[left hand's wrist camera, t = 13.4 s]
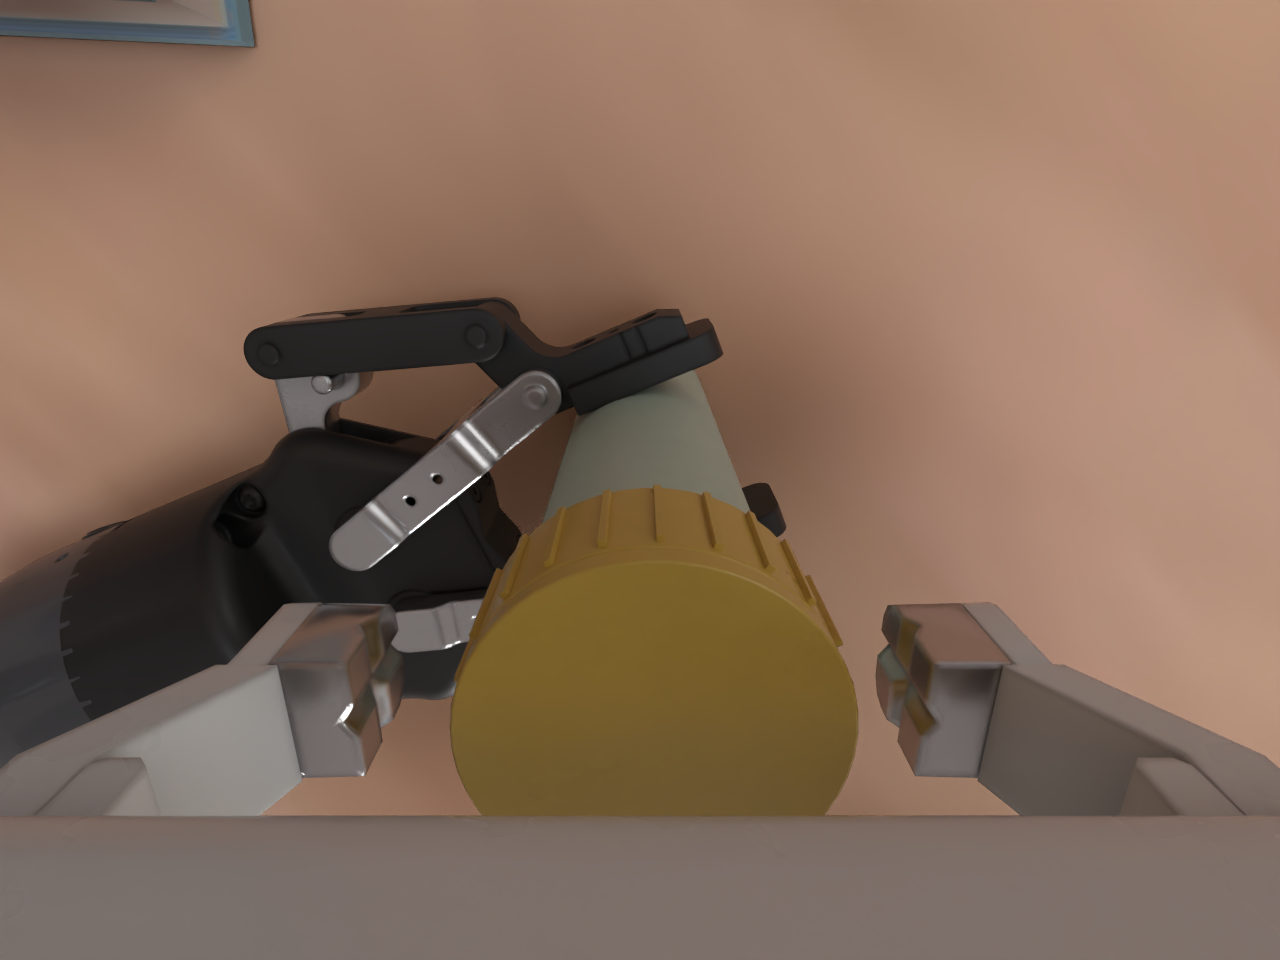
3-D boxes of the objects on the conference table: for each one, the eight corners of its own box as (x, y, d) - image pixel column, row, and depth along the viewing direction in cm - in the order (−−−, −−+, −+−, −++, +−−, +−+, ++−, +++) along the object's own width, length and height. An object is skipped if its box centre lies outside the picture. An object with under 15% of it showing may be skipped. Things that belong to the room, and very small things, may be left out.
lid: (803, 452, 9) (851, 519, 7) (832, 746, 11) (877, 868, 9) (442, 513, 10) (387, 594, 8) (527, 790, 11) (502, 918, 9)
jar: (723, 428, 24) (861, 760, 9) (619, 479, 25) (591, 868, 10) (669, 321, 23) (730, 507, 8) (561, 378, 23) (428, 651, 9)
